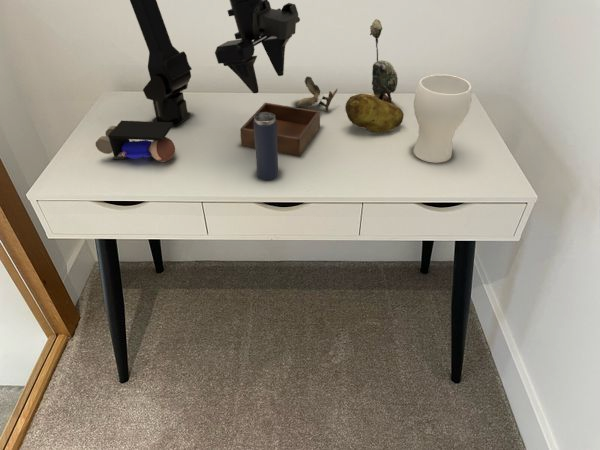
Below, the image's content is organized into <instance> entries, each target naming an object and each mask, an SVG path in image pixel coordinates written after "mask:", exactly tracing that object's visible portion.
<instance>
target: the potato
mask: <svg viewBox="0 0 600 450" xmlns="http://www.w3.org/2000/svg"><path fill="white" fill-rule="evenodd" d="M396 105H397V104H396ZM396 105H393V104H391V103H388V102H385V101H383V100H380V99H378V98H376V97H374V96H372V94H368V93H358V94H354V95H351V96H350V97H349V98H348V99H347V101H346V103H345V107H344V109H345V110H344V111H345V113H346V116H347V118H348V120H349V121H350V122H351V124H353V125H354V126H357V127H358V128H361V129H365V130H367V131H369V132H373V133H386V132H390V131H393V130H394V129H396V128H398V127H399V126H400V125H401V124H403V121H404V116H405V115H404V111H403V110H402V109H401V107H400V106H398V105H397V106H396Z"/></svg>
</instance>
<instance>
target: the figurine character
mask: <svg viewBox="0 0 600 450" xmlns="http://www.w3.org/2000/svg"><path fill="white" fill-rule="evenodd" d="M173 127H174V126H173V122H153V121H147V120H146V121H145V120H144V121H143V120H120V121H119V122H118V124H117V125H111V126H109V127H108V128H107V129H106V131H105V135H102V136H100V137H99V138H98V139H97V140H95V147H96V149H97V151H99V152H100V153H102V154H106V155H108V154H113V157H112V159H113V160H125V159H127V158H129V159H132V160H135V159H140V158H143V157H144V158H148V157H152V158H153V159H154V160H156V161H158V162H162V163H163V162H168V161H170V160H171V159H172V158H173V157H174V156H175V153H176V146H175V143H174V141H172V140H171V138H169V137H166V136H167V135H168V134H169V132H170V131H171V129H172V128H173ZM130 140H131V141H130ZM120 155H121V156H120Z"/></svg>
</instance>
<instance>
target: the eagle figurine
mask: <svg viewBox="0 0 600 450" xmlns="http://www.w3.org/2000/svg"><path fill="white" fill-rule="evenodd" d="M304 84H305V86H306V88H307V89H308V92H309V93H311V94H312V95H313V96H311V97H304V98H301V99H300V100H299V101H296V102H295V103H294V107H296V108H300V107H307V108H308V107H309V108H310V107H313V105H314V104H316V106H318V105H321V106H322V107H324V109H325V111H326V112H327V113H328V111H329V106H330V104H331V102H332V100H334V99H333V98H334V97H335V95H336V94H337V93H338V88H336V89H335V90H334V92H332V90H331V91H329V92H328V96H324V92H322V93H321V89H320V87H319V85H318V84H316V83H315V82H314V80H313V78H312V77H311V76H306V77H305V78H304ZM322 100H326V103H324V102H323V101H322Z"/></svg>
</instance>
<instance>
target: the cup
mask: <svg viewBox="0 0 600 450" xmlns="http://www.w3.org/2000/svg"><path fill="white" fill-rule="evenodd" d="M472 98H473V97H472V85H471V83H470V82H469V81H468V80H467V79H464V78H462V77H459V76H456V75H451V74H444V73H440V74H430V75H427V76H424V77H422V78H421V79H420V81H419V83H418V85H417V87H416V90H415V92H414V99H413V111H414V116H415V120H416V122H417V125H418V135H417V138H416V141H415V144H414V146H413V154H414V156H415V157H416V158H418V159H420V160H421V161H423V162H429V163H436V164H437V163H443V162H444V163H445V162H447V161H449V160H450V159H451V158H452V156H453V140H454V136H455V134H456V131H457V130H458V129H459V127H460V126H461V125H462V124H463V123H464V121H465V119H466V117H467V116H468V114H469V112H470V109H471V104H472V101H473V99H472Z"/></svg>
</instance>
